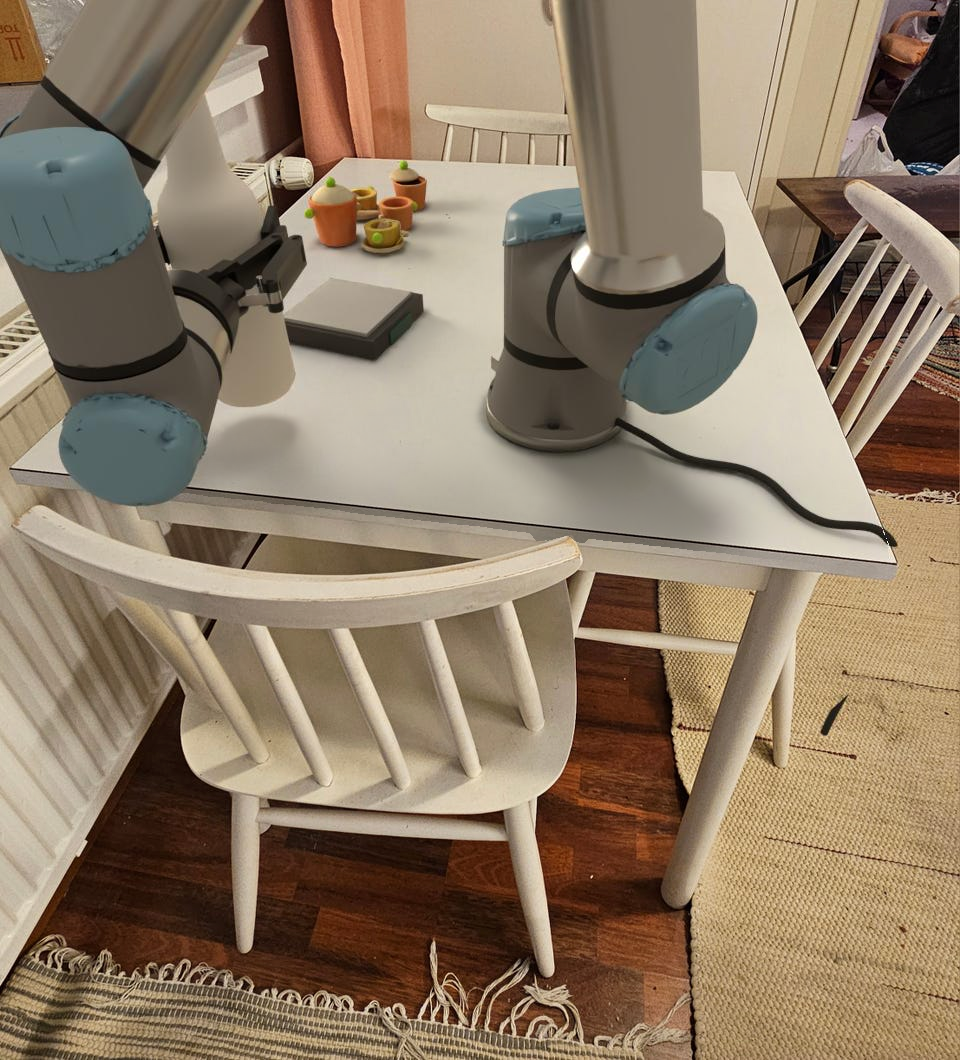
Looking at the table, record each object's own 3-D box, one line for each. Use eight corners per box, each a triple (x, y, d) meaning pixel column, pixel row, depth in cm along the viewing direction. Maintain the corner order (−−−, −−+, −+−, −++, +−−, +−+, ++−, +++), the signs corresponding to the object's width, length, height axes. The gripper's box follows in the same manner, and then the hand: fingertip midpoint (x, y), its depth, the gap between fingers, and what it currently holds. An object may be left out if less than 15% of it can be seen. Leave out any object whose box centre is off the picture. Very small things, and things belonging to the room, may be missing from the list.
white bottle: (216, 418, 73) (107, 63, 53) (205, 374, 79) (104, 41, 59) (305, 398, 76) (233, 51, 55) (288, 358, 82) (218, 31, 61)
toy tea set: (399, 260, 114) (393, 194, 108) (303, 253, 117) (292, 189, 110) (439, 201, 133) (437, 142, 127) (356, 196, 136) (349, 138, 129)
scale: (425, 311, 102) (423, 290, 100) (376, 360, 92) (373, 338, 90) (334, 295, 106) (331, 274, 104) (278, 340, 96) (274, 319, 94)
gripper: (318, 279, 52) (333, 175, 69) (0, 299, 51) (93, 187, 68) (335, 374, 57) (344, 255, 74) (45, 394, 56) (121, 268, 73)
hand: (224, 223), depth 71 cm, fingers closed on white bottle, 9 cm apart
